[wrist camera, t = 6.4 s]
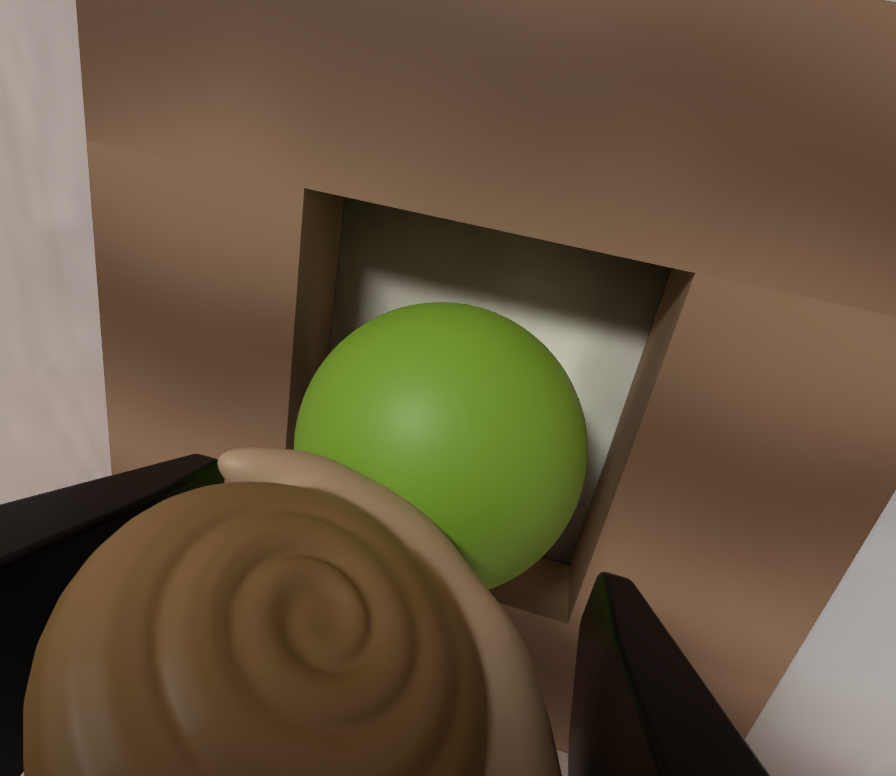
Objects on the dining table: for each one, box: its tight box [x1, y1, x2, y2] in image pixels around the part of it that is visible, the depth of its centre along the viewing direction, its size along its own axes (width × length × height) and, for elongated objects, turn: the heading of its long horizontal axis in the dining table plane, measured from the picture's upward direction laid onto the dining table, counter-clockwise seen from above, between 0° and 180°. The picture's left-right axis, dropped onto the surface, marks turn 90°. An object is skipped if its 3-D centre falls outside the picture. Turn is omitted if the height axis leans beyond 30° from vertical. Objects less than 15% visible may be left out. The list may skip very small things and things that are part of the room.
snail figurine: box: [23, 302, 588, 776], centre depth 8 cm, size 5×6×12 cm
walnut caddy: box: [76, 0, 896, 753], centre depth 12 cm, size 16×16×2 cm
